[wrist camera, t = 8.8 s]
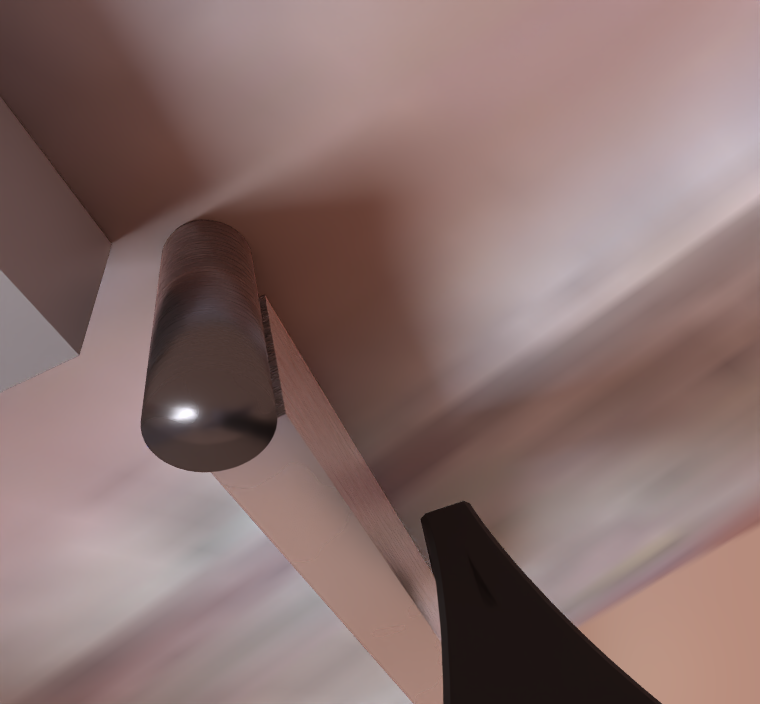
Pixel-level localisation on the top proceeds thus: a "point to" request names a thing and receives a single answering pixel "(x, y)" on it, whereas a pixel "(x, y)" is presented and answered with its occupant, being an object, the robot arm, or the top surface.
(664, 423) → the top surface
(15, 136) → the cradle
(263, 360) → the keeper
